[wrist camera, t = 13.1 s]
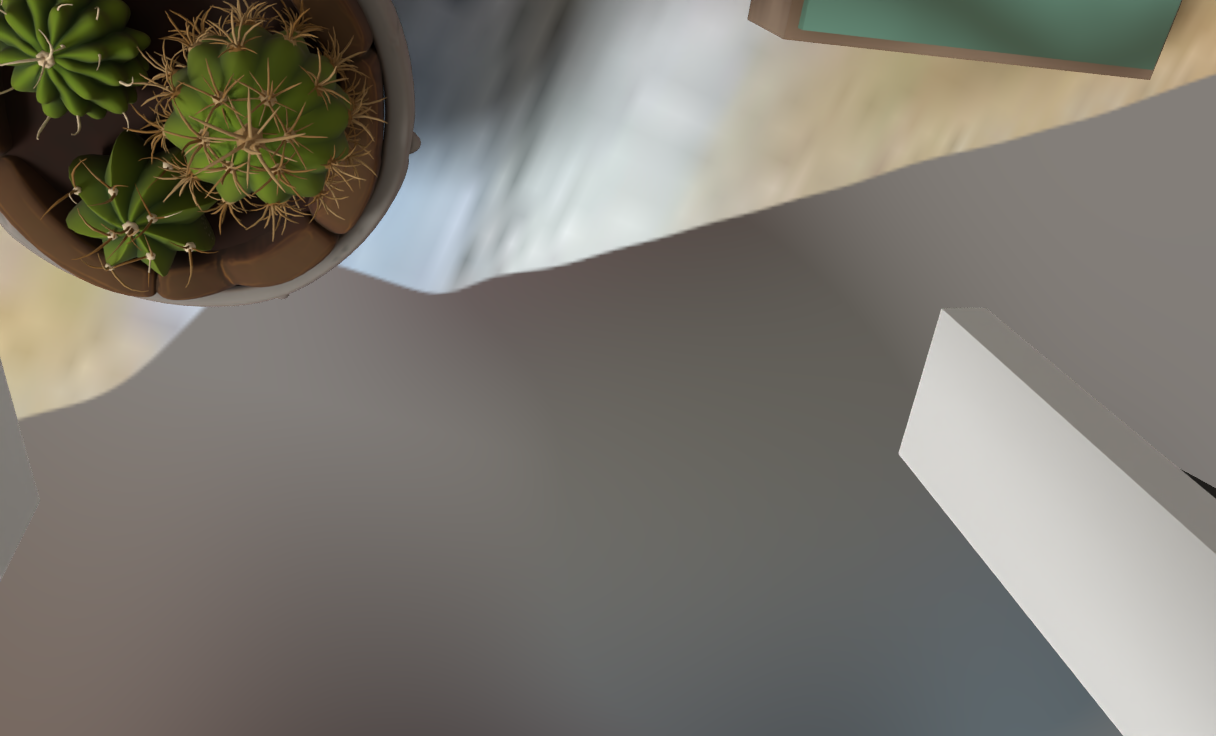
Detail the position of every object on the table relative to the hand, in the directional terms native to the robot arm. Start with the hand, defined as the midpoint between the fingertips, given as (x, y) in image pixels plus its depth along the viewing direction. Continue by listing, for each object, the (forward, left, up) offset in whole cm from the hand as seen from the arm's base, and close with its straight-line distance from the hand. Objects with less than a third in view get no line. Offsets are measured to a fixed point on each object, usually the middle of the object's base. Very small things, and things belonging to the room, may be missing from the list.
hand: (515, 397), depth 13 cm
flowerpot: (+2, -8, -31) cm, 32 cm away
